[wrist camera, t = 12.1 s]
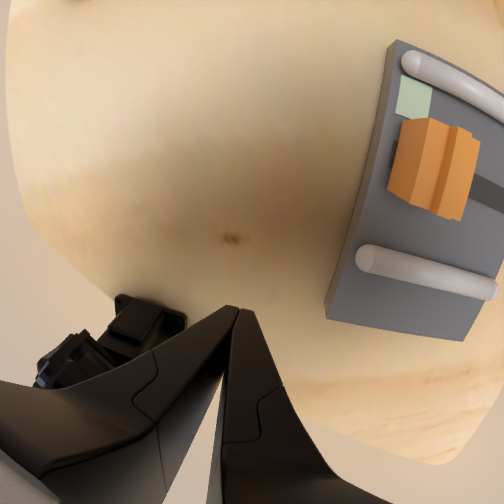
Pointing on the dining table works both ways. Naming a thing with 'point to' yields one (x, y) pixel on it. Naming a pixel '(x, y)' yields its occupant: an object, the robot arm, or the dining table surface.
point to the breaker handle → (434, 166)
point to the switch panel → (424, 211)
